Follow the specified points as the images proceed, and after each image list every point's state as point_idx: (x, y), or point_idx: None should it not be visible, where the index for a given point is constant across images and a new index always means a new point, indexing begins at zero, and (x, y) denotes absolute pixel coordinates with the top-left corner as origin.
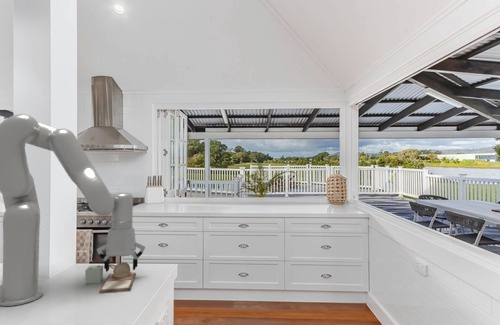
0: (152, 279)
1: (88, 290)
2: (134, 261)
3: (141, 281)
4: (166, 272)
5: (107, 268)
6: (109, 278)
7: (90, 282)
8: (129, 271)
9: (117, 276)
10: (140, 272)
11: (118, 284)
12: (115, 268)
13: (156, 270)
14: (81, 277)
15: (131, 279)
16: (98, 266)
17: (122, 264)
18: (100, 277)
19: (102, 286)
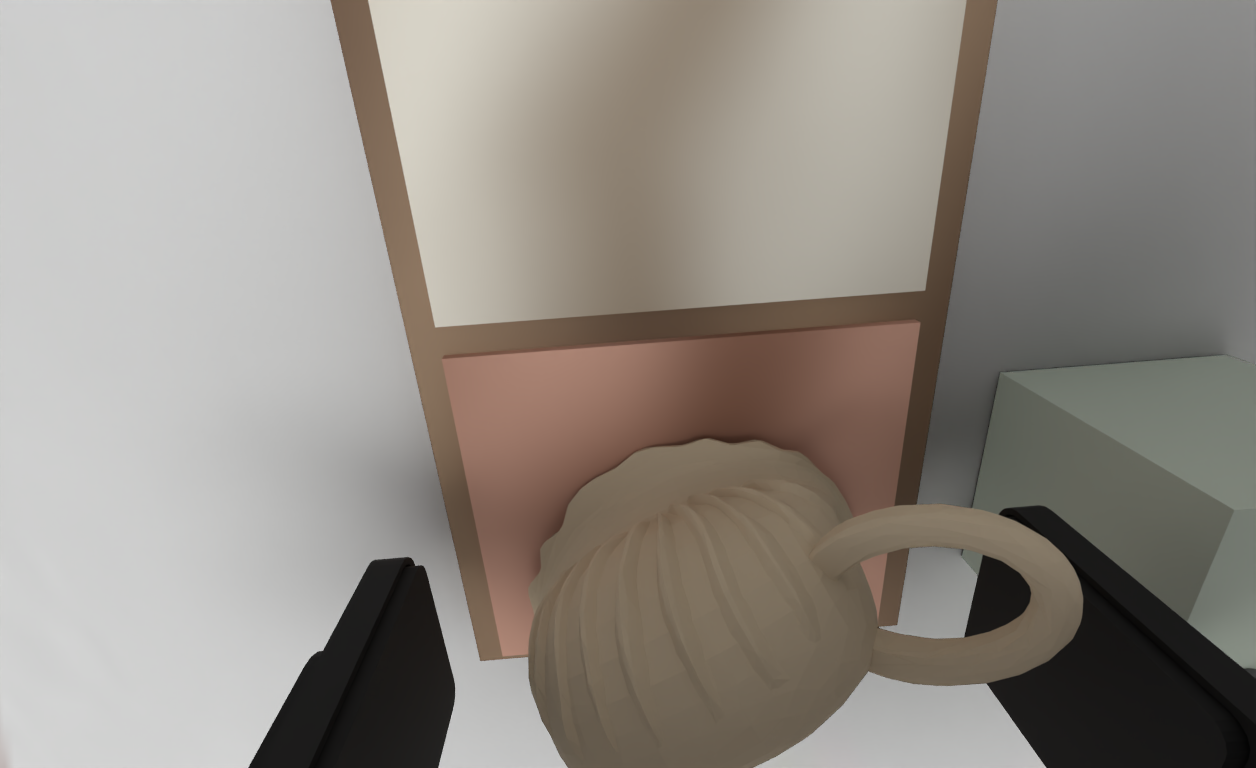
0: (118, 437)
1: (1198, 7)
2: (276, 766)
3: (287, 363)
4: (32, 692)
5: None
6: (875, 433)
7: (1162, 365)
8: (544, 602)
9: (742, 456)
10: None
11: (641, 60)
12: (848, 538)
13: (237, 761)
14: None
15: (448, 356)
16: None
17: (694, 688)
18: (1048, 444)
19: (977, 9)
